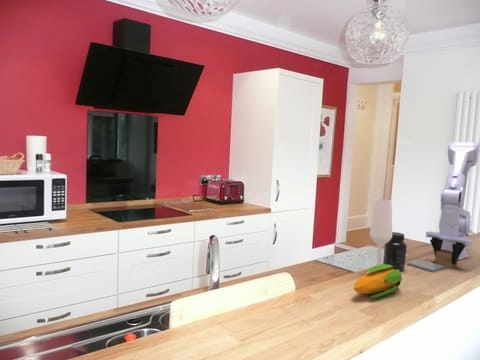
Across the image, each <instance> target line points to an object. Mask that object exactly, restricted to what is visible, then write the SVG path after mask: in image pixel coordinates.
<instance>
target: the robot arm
mask: <svg viewBox="0 0 480 360" xmlns="http://www.w3.org/2000/svg"><path fill="white" fill-rule="evenodd" d="M447 145H448V147H447V156H448V157H447V158H448V163H449V164H450V165H451V172H449V173H448V174H447V176H446V180H445V186H444V189H442V190H441V193H440V217H439V223H438V229H439V232H437V231H429V230H428V231H426V232H425V237H426V238H431V239H430V240H429V242H430V244H431V246H432V249H433V252H434V253H433V254H434V256H435V257H434V258H435V259H436V251H438V250H441V249H445V250H449V251H453V257H452V264H456V265H457V263H458V261H459V260H463V259H465V258H468V257H469V256H470V255H468V254H467V248H468V247H471V246H472V244H473V239H470V238H468V237H467V235H468V234H469V233H470V228H471V217H472V216H471V215H470V213H469V212H468V211H467V210H466V209H465V208H464V206H465V205H464V204H465V197H466V191H467V183H468V177H469V172H470V169H471V168H472V167H474V166H477V163H478V158H479V152H480V151H479V150H480V144H479V142H478V141H475V142H474V141H473V142H472V141H449V142H448V144H447ZM435 259H434V260H435Z"/></svg>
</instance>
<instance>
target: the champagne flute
mask: <svg viewBox="0 0 480 360" xmlns="http://www.w3.org/2000/svg"><path fill="white" fill-rule="evenodd" d="M374 200H375V201H374V206H373V212H372V217H371V224H370V230H369V236H370V238H371V240H372V241H373V242H374V243H375V244H376V245H377V252H376V253H377V255H376V266H379V265H382V263H381V261H382V248H383V246H385V244H386V243H387V242H389V241H390V240H391V238H392V232H393V207H392V206H393V204H392V200H390V199H382V198H377V199H376V198H375V199H374ZM367 273H369V272H367Z"/></svg>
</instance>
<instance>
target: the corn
mask: <svg viewBox="0 0 480 360" xmlns="http://www.w3.org/2000/svg"><path fill="white" fill-rule="evenodd" d="M368 272H369V273H368ZM401 272H402V271H399V269H396V268H395V267H393V266H391V265H387V264H383V263H382V264H380V265H379V266H372V267H370V268H368V269H367V270H366V274H364V275H362V276H361V277H359V278H358V279H357V280H356V281H355V283H354V286H353V290H354V292H356V293H357V294H368V295H371V296H370V299H377V298H380V297H383V296H386V295H388V294H391V293H396V291H397V290H398V289H399V287H400V286H401V281H403V276H402V275H403V274H402V273H401Z"/></svg>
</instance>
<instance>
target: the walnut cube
mask: <svg viewBox="0 0 480 360" xmlns="http://www.w3.org/2000/svg"><path fill="white" fill-rule="evenodd" d="M452 257H453V251H449V250H445V249H441V250H438V251H436V259H434V260H435V261H434V263H435V264H439V265H443V266H445V268H446V269H453V268H455V267H457V263H456V264H452Z"/></svg>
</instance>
